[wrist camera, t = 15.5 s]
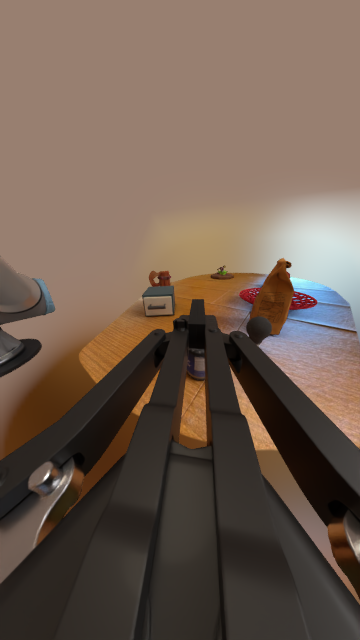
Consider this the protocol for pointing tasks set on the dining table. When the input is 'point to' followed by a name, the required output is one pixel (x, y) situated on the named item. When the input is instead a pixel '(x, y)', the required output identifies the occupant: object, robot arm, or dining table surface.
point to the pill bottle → (196, 364)
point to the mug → (160, 278)
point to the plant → (222, 275)
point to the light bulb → (258, 329)
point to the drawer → (158, 305)
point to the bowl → (293, 303)
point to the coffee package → (275, 297)
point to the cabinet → (160, 292)
